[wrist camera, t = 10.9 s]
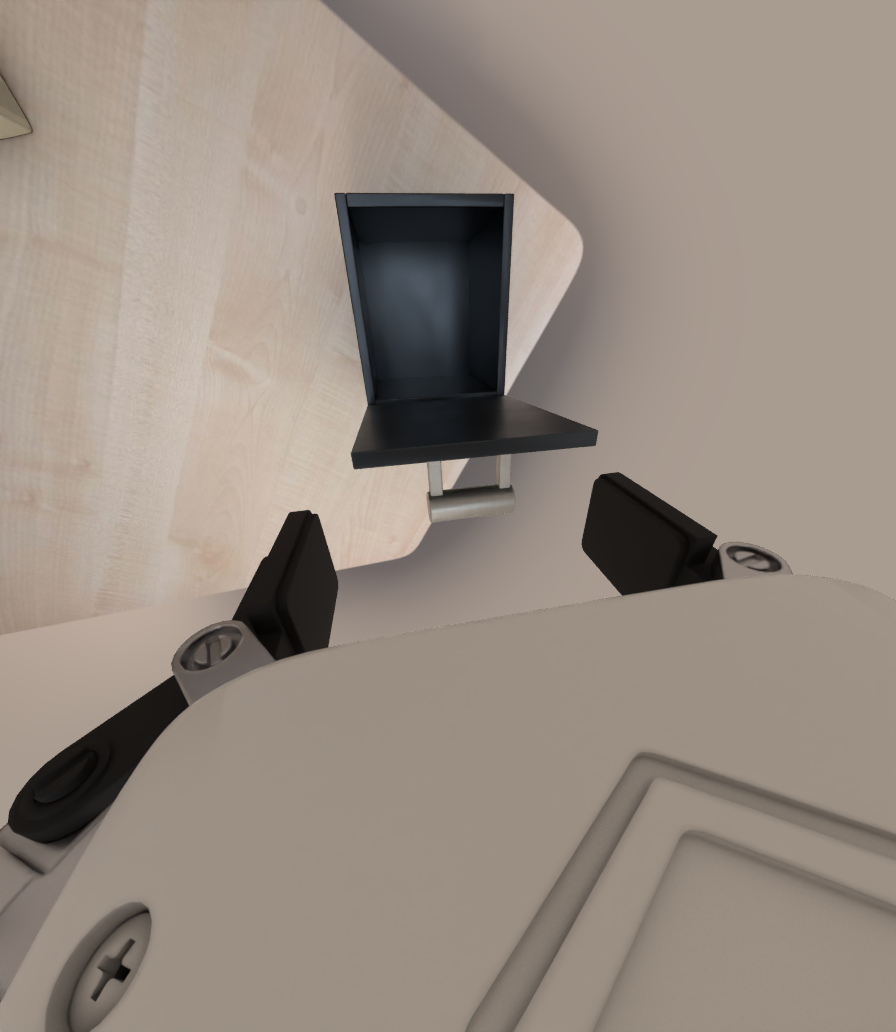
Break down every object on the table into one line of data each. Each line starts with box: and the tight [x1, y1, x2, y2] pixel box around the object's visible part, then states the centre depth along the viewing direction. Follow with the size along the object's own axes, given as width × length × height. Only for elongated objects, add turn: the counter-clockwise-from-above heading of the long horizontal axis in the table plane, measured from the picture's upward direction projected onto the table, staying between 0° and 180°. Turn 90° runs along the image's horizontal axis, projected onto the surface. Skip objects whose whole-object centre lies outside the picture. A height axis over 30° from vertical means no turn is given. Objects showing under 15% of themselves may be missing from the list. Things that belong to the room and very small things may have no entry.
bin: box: [334, 193, 514, 406], centre depth 30 cm, size 13×12×12 cm
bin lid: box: [351, 395, 598, 522], centre depth 23 cm, size 14×12×5 cm
